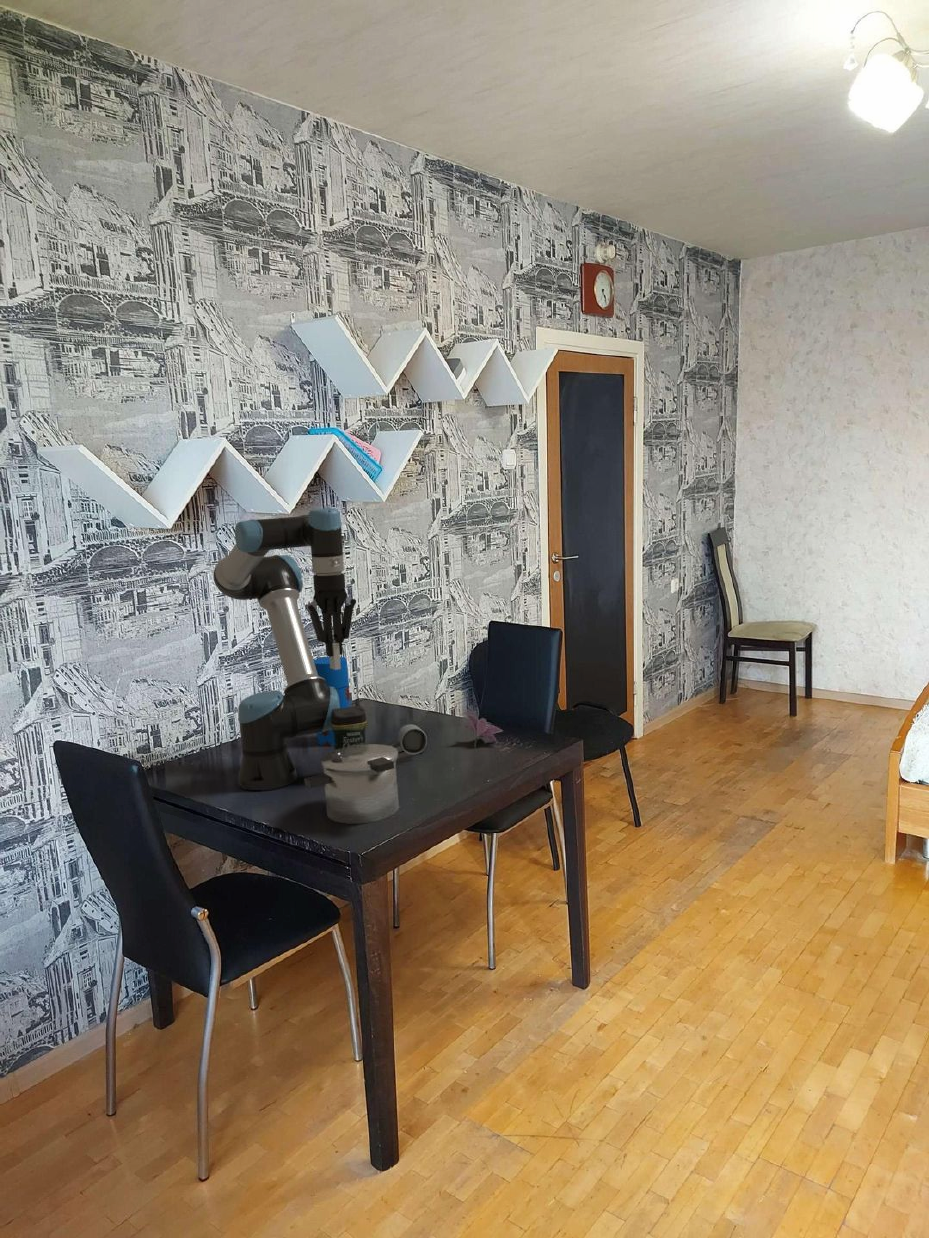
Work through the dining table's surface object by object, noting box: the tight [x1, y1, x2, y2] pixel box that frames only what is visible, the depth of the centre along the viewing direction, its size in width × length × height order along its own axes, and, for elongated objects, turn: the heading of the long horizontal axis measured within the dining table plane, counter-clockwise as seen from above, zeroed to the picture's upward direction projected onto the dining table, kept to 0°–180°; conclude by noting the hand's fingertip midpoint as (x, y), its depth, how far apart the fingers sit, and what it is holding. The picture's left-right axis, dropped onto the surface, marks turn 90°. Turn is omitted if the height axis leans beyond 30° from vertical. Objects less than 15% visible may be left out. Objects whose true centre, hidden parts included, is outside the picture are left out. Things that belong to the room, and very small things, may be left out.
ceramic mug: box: [390, 723, 428, 756], centre depth 252 cm, size 11×8×8 cm
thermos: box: [313, 656, 352, 747], centre depth 265 cm, size 11×11×25 cm
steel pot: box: [303, 751, 413, 825], centre depth 210 cm, size 19×27×12 cm
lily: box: [463, 711, 504, 748], centre depth 254 cm, size 12×12×10 cm
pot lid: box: [320, 743, 399, 772], centre depth 206 cm, size 22×18×3 cm
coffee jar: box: [331, 705, 368, 751], centre depth 234 cm, size 10×8×19 cm
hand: (335, 668), depth 217 cm, fingers closed
